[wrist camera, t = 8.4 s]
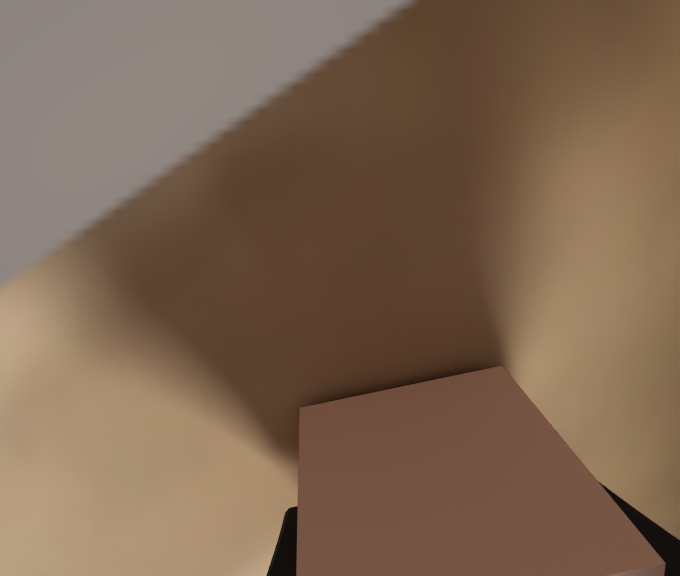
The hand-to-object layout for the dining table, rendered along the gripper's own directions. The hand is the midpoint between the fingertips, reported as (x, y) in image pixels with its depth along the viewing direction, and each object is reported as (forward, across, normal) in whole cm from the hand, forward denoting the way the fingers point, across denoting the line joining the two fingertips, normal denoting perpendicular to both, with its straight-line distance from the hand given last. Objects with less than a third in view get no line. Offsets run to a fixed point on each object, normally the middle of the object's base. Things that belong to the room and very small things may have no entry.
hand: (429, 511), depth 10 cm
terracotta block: (+1, 0, 0) cm, 1 cm away
